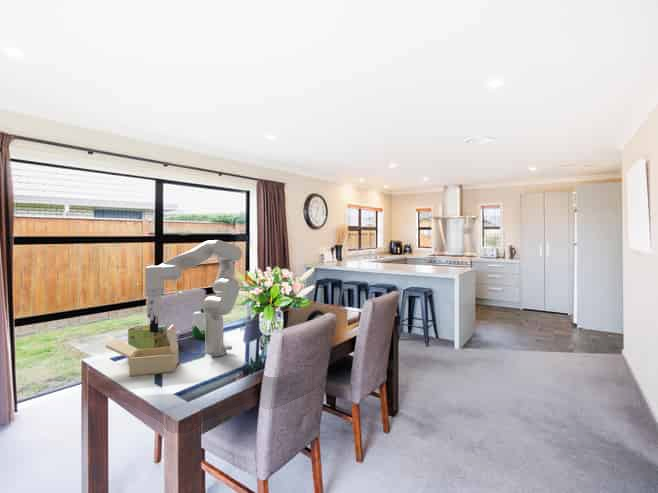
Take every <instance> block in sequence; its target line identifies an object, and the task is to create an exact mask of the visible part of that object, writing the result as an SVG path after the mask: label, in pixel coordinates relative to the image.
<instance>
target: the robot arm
mask: <svg viewBox="0 0 658 493" xmlns="http://www.w3.org/2000/svg"><path fill="white" fill-rule="evenodd" d="M211 257H216V259H217V260H218V263H219V269H218V273H217V274H216V278H215V280H214V282H213V285H212V291H213V293H214V294H217V295H209V296H207V297H206V298H205V299H204V300H203V302H202V309H203V310H204V315H205V338H204V340H205V341H204V342H205V345H204V347H205V348H204V349H205V350H204V351H203V353H205V354H210V355H211V356H210V358H214V357H215V358H216V357H221V356H224V355H226V354H227V350H228V351H229V350H230V351H231V350H232V349H233V346H232V345H225V343H224V317H223V316H227V315H228V314H230V313H231V312H232V311H233V308H234V307H235V304H236V301H237V299H238V296H239V293H240V287H241V284H240V282H239V281H238V280H237V279H236V278H234V275H235V271H236V269H235V265H234V262H238V261H240V260H241V259H242V257H243V250H242V248H241V247H240V246H238V245H235V244H232V243H229V242H226V241H223V240H220V239H214V240H206V241H203V242H202V243H200V244H199V245H197V246H195V247H193V248H192V249H190V250H188V251H186V252H184V253H181V254H179V255H177V256H174V257H171V258H169V259H168V260H165V261H164V262H162V263H160V264H159V265H149V266H146V267H145V273H144V274H145V283H144V285H145V289H144V290H145V292H144V293H145V294H144V295H145V297H147V299H146V316H147V318H148V319H149V325H150V332H157V331H158V325H159V317H161V316H162V315H163V298H162V296H164V281H172V282H174V281H176V280H179V279H180V278H181V277H182V275H183V272H182V270H184V269H190V268H193V267H194V268H195V267H197V266H199V265H201V264H202V263H204V262H205V261H207V260H208V259H210V258H211ZM220 295H221V296H220Z"/></svg>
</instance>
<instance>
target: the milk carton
mask: <svg viewBox="0 0 658 493" xmlns="http://www.w3.org/2000/svg"><path fill="white" fill-rule="evenodd" d="M193 337H195V338H194V339H204V338H203V337H205V315H204V310H203V308H200V311H194V312H193V313H192V338H193Z"/></svg>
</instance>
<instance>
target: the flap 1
mask: <svg viewBox="0 0 658 493" xmlns="http://www.w3.org/2000/svg"><path fill="white" fill-rule="evenodd" d="M105 348H107V349H108V350H111V351H113V352H115V353H118V354H119V355H121V356H123V357H126V358H127V359H129V358H130V357H131V356H132V355H133V354H134V353H135V352H136V351H137V348H135V347H133V346H131V345H129V344H128V343H127V342H126V341H123V340H121V339H118V338H116V337H115V338H114V339H113V340H111V341H110V342H109V343H107V344H106V345H105Z"/></svg>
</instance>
